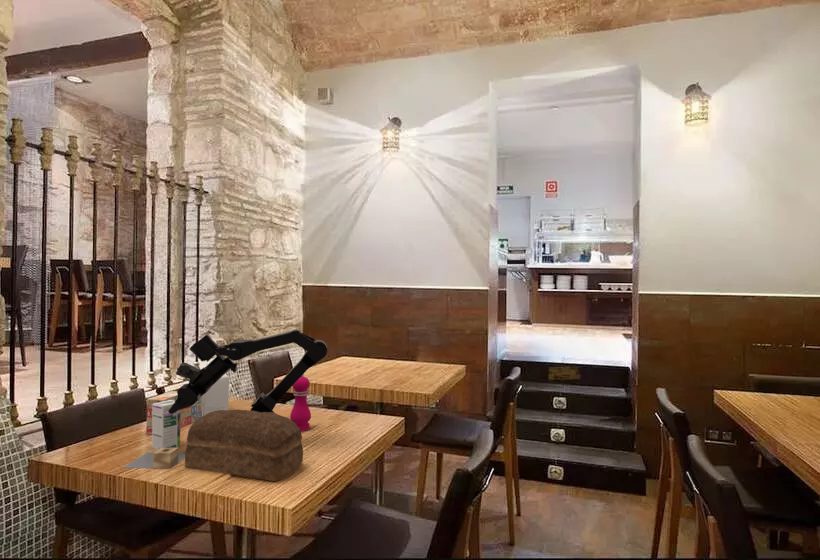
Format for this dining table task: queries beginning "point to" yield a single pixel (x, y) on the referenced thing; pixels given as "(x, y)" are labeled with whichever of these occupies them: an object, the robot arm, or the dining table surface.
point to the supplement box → (216, 396)
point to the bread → (245, 444)
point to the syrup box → (165, 426)
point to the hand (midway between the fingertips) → (174, 408)
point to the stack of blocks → (186, 414)
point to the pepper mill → (301, 404)
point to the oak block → (165, 458)
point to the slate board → (149, 461)
